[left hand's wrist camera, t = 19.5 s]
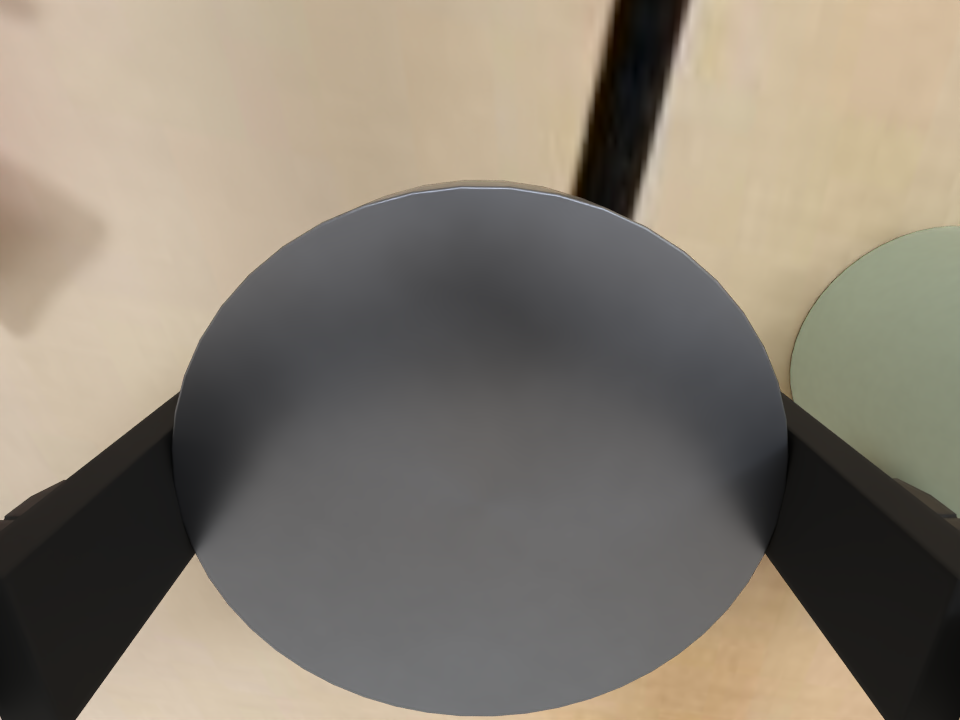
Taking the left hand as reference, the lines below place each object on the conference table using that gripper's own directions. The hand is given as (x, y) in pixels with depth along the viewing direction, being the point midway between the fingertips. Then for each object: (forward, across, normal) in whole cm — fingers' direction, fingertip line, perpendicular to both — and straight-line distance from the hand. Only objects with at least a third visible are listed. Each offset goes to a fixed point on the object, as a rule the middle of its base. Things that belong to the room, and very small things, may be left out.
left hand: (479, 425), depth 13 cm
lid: (-3, 0, 0) cm, 3 cm away
